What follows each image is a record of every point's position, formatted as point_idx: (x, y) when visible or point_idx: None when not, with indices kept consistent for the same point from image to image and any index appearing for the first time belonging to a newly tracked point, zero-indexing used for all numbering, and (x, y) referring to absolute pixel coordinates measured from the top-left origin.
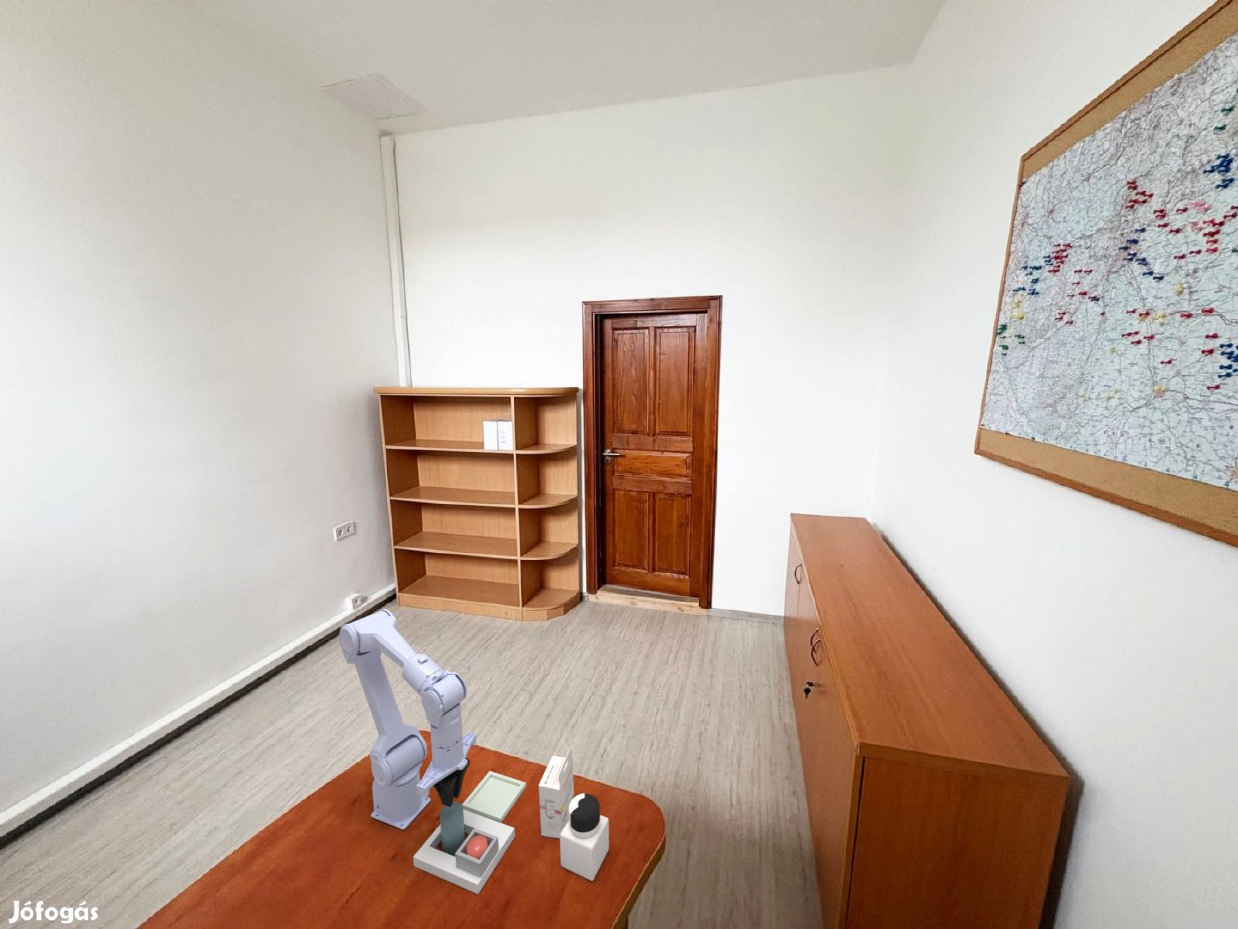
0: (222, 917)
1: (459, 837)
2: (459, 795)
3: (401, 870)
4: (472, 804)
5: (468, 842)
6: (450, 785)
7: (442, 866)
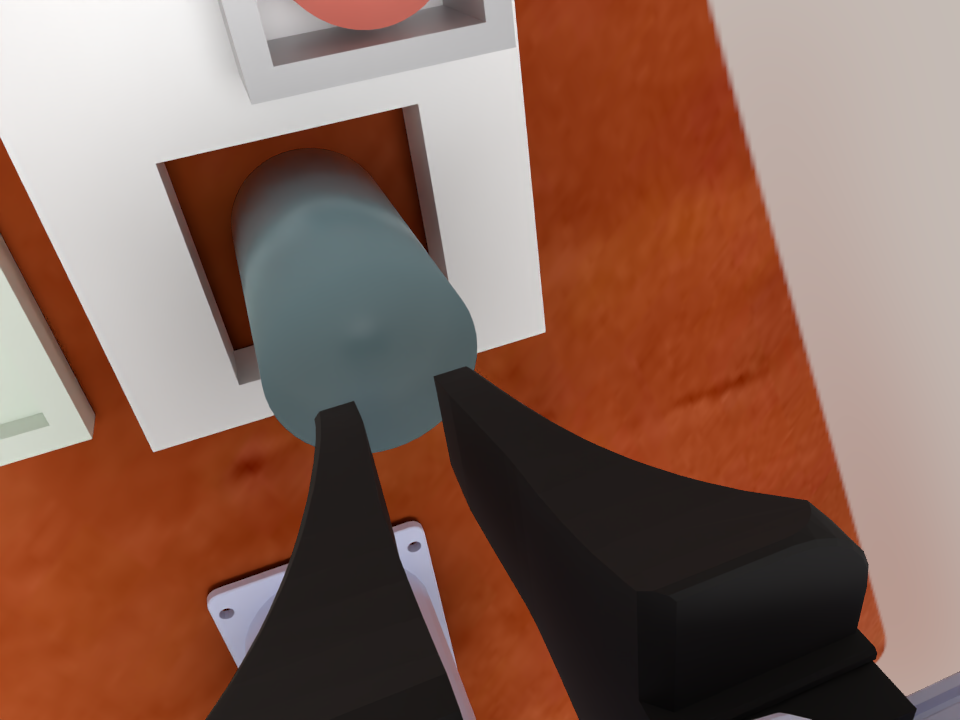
0: (867, 589)
1: (337, 185)
2: (322, 416)
3: (563, 332)
4: (13, 396)
5: (389, 24)
6: (790, 518)
7: (510, 124)
